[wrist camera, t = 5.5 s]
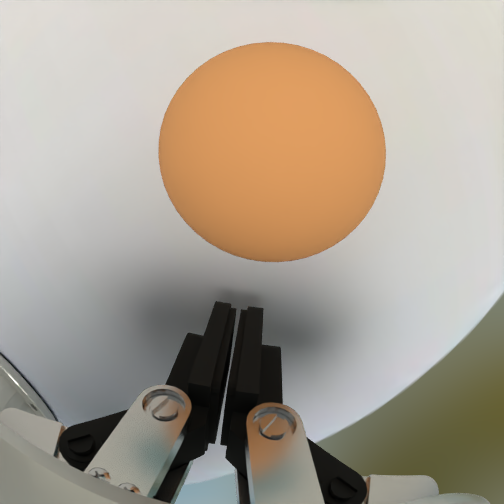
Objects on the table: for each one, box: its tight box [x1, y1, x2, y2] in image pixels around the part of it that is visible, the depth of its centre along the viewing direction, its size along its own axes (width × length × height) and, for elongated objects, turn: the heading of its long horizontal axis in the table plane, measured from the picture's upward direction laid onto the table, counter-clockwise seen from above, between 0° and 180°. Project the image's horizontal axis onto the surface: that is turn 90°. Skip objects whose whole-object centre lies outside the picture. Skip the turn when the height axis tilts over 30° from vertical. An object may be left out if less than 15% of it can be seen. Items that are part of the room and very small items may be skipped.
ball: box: [159, 42, 386, 262], centre depth 7 cm, size 6×6×6 cm
